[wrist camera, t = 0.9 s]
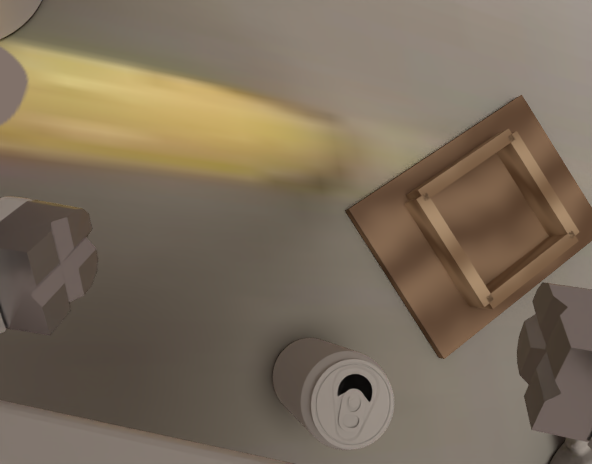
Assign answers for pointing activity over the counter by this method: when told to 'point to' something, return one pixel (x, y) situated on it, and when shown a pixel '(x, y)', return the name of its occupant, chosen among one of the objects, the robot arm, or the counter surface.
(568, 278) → the counter surface
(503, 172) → the tray
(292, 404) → the beverage can
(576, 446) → the dish
